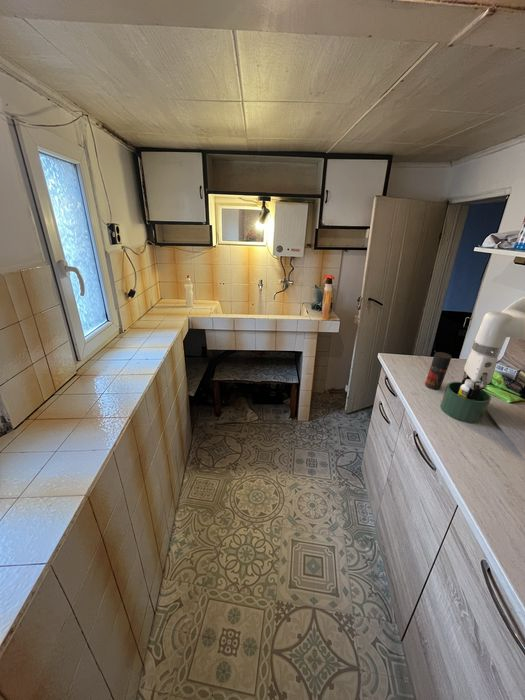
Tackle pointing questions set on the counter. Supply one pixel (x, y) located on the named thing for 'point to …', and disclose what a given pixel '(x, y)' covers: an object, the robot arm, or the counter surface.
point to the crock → (464, 404)
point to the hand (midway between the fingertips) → (467, 393)
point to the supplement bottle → (466, 388)
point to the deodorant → (437, 370)
